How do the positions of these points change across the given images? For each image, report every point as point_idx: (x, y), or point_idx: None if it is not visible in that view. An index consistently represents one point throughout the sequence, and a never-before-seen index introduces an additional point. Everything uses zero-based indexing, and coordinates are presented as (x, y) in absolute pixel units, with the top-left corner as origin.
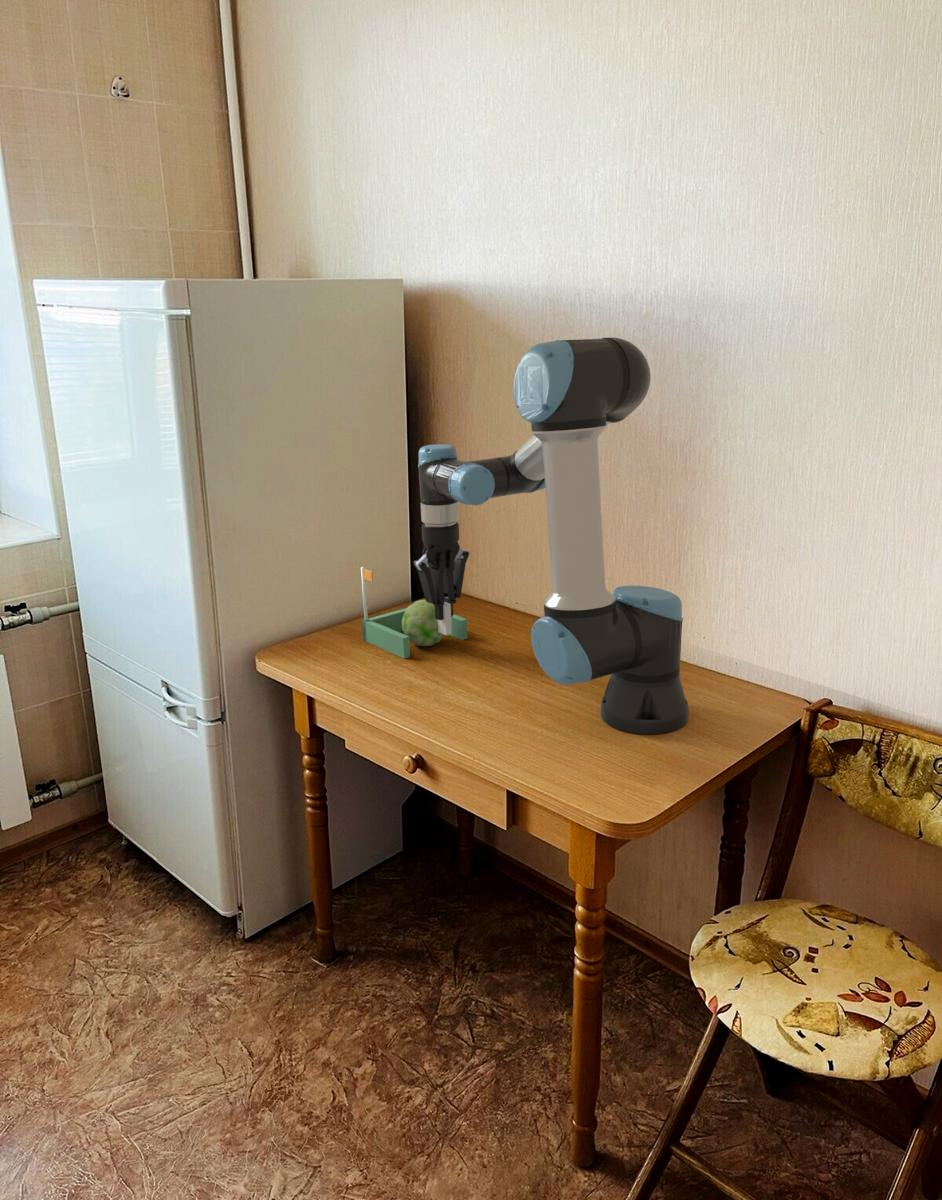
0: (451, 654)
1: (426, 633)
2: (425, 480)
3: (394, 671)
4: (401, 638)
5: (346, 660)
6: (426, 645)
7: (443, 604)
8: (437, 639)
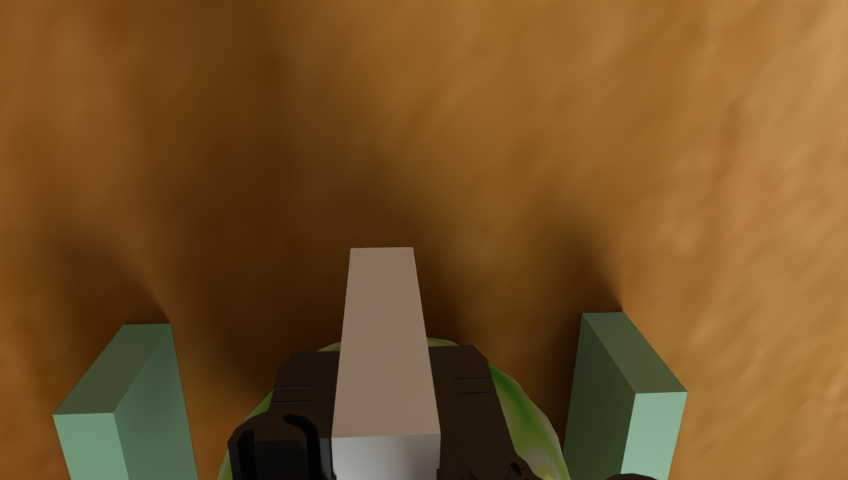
0: (375, 179)
1: (492, 374)
2: None
3: (800, 196)
4: (680, 404)
5: (810, 467)
6: None
7: (457, 454)
8: None
